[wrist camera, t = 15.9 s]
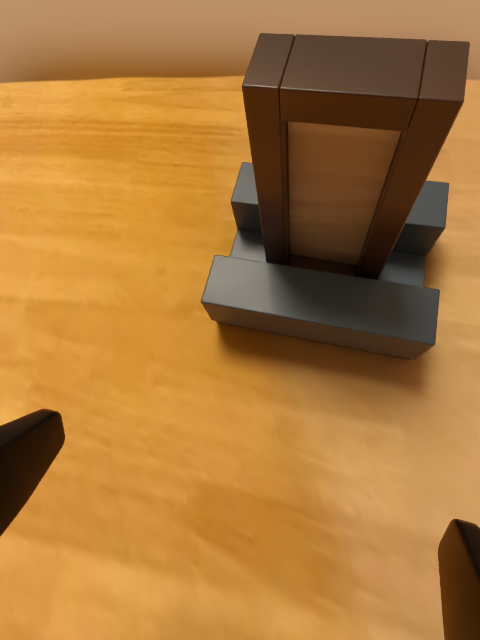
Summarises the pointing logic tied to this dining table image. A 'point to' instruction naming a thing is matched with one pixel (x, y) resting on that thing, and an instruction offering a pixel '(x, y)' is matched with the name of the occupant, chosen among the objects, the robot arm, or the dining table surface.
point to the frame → (346, 141)
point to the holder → (331, 285)
